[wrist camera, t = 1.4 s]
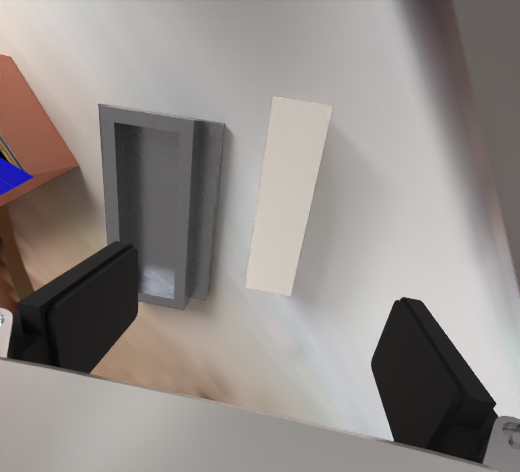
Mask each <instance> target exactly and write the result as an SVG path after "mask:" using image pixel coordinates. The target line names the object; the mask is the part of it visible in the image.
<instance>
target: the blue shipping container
mask: <svg viewBox="0 0 520 472" xmlns="http://www.w3.org/2000/svg"><path fill="white" fill-rule="evenodd" d="M0 144H1V145H2V146H1V145H0V151H1V152H2V153H3V154H4V156H5V157H6V159H7V160H8V161H9V162H7V161H5V160H4V159H2V158H0V207H2V206H4V205H6V204H7V203H9V202H11V201H12V200H14V199H16V198H18V197H20V196H22V195H24V194H26V193H28V192H29V191H31V190H33V189H35V188H37V187H39V186H41V185H43V184H45V183H46V182H48V181H50V180H52V179H54V178H56V177H58V176H60V175H62V174H63V173H65V172H67V171H69V170H71V169H73V168H75V167H77V166H79V164H78V163H77V161H76V160H75V158H74V156H73V155H72V153H71V152H70V150H69V148H68V147H67V145H66V144H65V142H64V141H63V139H62V137H61V136H60V134H59V133H58V131H57V129H56V128H55V126H54V125H53V123H52V121H51V120H50V118H49V117H48V115H47V114H46V112H45V110H44V109H43V107H42V106H41V104H40V102H39V101H38V99H37V98H36V96H35V95H34V93H33V91H32V90H31V88H30V87H29V85H28V83H27V82H26V80H25V79H24V77H23V75H22V74H21V72H20V71H19V69H18V68H17V66H16V64H15V63H14V61H13V60H12V58H11V57H9V56H4V55H0ZM2 147H3V148H4V149H5V150H4V149H3V148H2ZM5 151H6V152H7V153H6V152H5ZM7 154H8V155H9V156H8V155H7ZM9 157H10V158H11V159H12V160H11V159H10V158H9ZM12 161H13V162H14V163H13V162H12ZM14 164H15V165H16V166H15V165H14Z"/></svg>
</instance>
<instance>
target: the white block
mask: <svg viewBox="0 0 520 472" xmlns="http://www.w3.org/2000/svg"><path fill="white" fill-rule="evenodd" d="M332 108H333V105H330V104H323V103H317V102H310V101H304V100H297V99H291V98H284V97H278V96H273V97H272V104H271V111H270V118H269V125H268V131H267V138H266V145H265V152H264V159H263V165H262V172H261V179H260V186H259V193H258V199H257V206H256V213H255V220H254V227H253V234H252V240H251V247H250V254H249V261H248V268H247V274H246V281H245V288H248V289H253V290H258V291H264V292H269V293H274V294H280V295H285V296H291V292H292V288H293V283H294V279H295V274H296V270H297V265H298V261H299V256H300V252H301V247H302V243H303V238H304V234H305V229H306V225H307V220H308V216H309V211H310V207H311V202H312V198H313V193H314V189H315V184H316V180H317V176H318V171H319V167H320V162H321V158H322V153H323V149H324V144H325V140H326V135H327V131H328V126H329V122H330V117H331V113H332Z"/></svg>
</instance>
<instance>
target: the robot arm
mask: <svg viewBox="0 0 520 472" xmlns="http://www.w3.org/2000/svg"><path fill="white" fill-rule="evenodd" d="M17 303H18V308H19V309H18V310H17V311H15V312H14V313H11V312H9V311H8V310H6V309H2V308H0V472H520V419H517V418H514V417H509V416H502V417H498V415H497V414H496V413H495V411H494V410H493V408H494V407H495V405H496V402H495V401H494V400H493V398H492V397H491V396H490V394H489V393H488V391H487V390H486V389H485V387H484V386H483V385H482V383H481V382H480V380H479V379H478V378H477V376H476V375H475V374H474V372H473V371H472V369H471V368H470V367H469V365H468V364H467V363H466V361H465V360H464V358H463V357H462V356H461V354H460V353H459V352H458V350H457V349H456V347H455V346H454V345H453V343H452V342H451V341H450V339H449V338H448V336H447V335H446V334H445V332H444V331H443V330H442V328H441V327H440V325H439V324H438V323H437V321H436V320H435V319H434V317H433V316H432V314H431V313H430V312H429V310H428V309H427V308H426V306H425V305H424V303H423V302H422V301H420V300H416V299H410V298H405V297H403V298H401V299H400V301H399V300H396V301H395V302H394V304H393V307H392V309H391V312H390V314H389V317H388V319H387V322H386V324H385V327H384V330H383V332H382V335H381V337H380V340H379V342H378V345H377V347H376V350H375V352H374V355H373V358H372V362H371V368H372V372H373V375H374V378H375V381H376V384H377V388H378V391H379V394H380V397H381V400H382V403H383V407H384V410H385V413H386V416H387V419H388V423H389V426H390V429H391V432H392V435H393V438H394V442H393V441H389V440H385V439H381V438H377V437H372V436H368V435H363V434H359V433H355V432H350V431H346V430H341V429H337V428H333V427H328V426H324V425H320V424H315V423H311V422H306V421H302V420H298V419H293V418H289V417H284V416H280V415H275V414H271V413H266V412H262V411H257V410H253V409H248V408H244V407H239V406H235V405H230V404H226V403H221V402H217V401H212V400H208V399H203V398H199V397H194V396H190V395H185V394H181V393H176V392H171V391H167V390H162V389H157V388H153V387H148V386H144V385H139V384H134V383H130V382H125V381H120V380H116V379H111V378H106V377H102V376H97V375H92V374H89V373H90V372H91V371H92V370H93V369H94V368H95V366H96V365H97V364H98V363H99V362H100V360H101V359H102V358H103V357H104V356H105V354H106V353H107V352H108V351H109V350H110V348H111V347H112V346H113V345H114V344H115V342H116V341H117V340H118V339H119V338H120V336H121V335H122V334H123V333H124V332H125V331H126V329H127V328H128V327H129V326H130V325H131V323H132V322H133V321H134V320H135V318H136V316H137V313H138V251H137V249H135V248H134V246H133V245H132V244H130V243H124V242H119V241H115V242H113V243H111V244H110V245H108V246H106V247H105V248H103V249H102V250H100V251H98V252H97V253H95V254H94V255H92V256H90V257H89V258H87V259H86V260H84V261H83V262H81V263H79V264H78V265H76V266H75V267H73V268H71V269H70V270H68V271H67V272H65V273H63V274H62V275H60V276H59V277H57V278H56V279H54V280H52V281H51V282H49V283H48V284H46V285H44V286H43V287H41V288H40V289H38V290H36V291H35V292H33V293H32V294H30V295H29V296H27V297H25V298H24V299H22V300H21V301H19V302H17Z"/></svg>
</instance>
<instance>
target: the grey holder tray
mask: <svg viewBox="0 0 520 472" xmlns="http://www.w3.org/2000/svg"><path fill="white" fill-rule="evenodd" d="M98 106H99V121H100V136H101V152H102V167H103V183H104V198H105V214H106V229H107V245H110V244H111V243H113V242H115V241H119V242H124V243H130V244H132V245H133V246H134V248H135V249H137V251H138V301H139V302H145V303H150V304H155V305H160V306H165V307H171V308H176V309H181V310H184V309H185V307H186V305H187V304H188V302H189V300H190V298H197V299H202V300H206V299H207V296H208V294H209V288H210V278H211V267H212V256H213V245H214V234H215V223H216V212H217V201H218V190H219V179H220V169H221V158H222V147H223V136H224V125H225V123H219V122H213V121H206V120H200V119H194V118H188V117H181V116H175V115H169V114H163V113H156V112H150V111H144V110H138V109H131V108H125V107H119V106H113V105H106V104H98Z"/></svg>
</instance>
